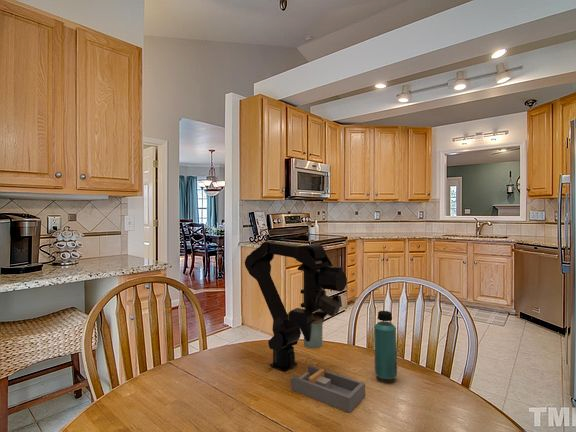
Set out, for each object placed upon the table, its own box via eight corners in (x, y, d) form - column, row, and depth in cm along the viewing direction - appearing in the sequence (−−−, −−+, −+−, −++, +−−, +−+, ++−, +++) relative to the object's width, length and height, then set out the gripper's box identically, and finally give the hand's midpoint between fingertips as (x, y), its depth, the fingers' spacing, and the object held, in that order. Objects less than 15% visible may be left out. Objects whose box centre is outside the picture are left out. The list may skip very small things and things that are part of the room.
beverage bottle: (398, 385, 94) (398, 315, 94) (374, 383, 95) (374, 314, 95) (395, 374, 100) (395, 309, 100) (373, 372, 101) (373, 308, 101)
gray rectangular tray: (291, 389, 92) (291, 377, 92) (309, 376, 99) (309, 365, 99) (349, 412, 81) (349, 398, 81) (365, 396, 88) (365, 382, 88)
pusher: (308, 389, 90) (308, 377, 90) (321, 380, 95) (321, 368, 95) (321, 394, 87) (321, 382, 87) (334, 384, 92) (333, 372, 92)
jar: (300, 345, 98) (300, 319, 98) (309, 339, 102) (309, 314, 102) (316, 350, 95) (316, 322, 95) (325, 343, 99) (325, 317, 99)
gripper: (321, 296, 86) (322, 355, 86) (350, 284, 102) (350, 334, 102) (286, 291, 93) (287, 346, 93) (318, 280, 108) (318, 327, 108)
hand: (312, 338), depth 99 cm, fingers closed on jar, 6 cm apart
